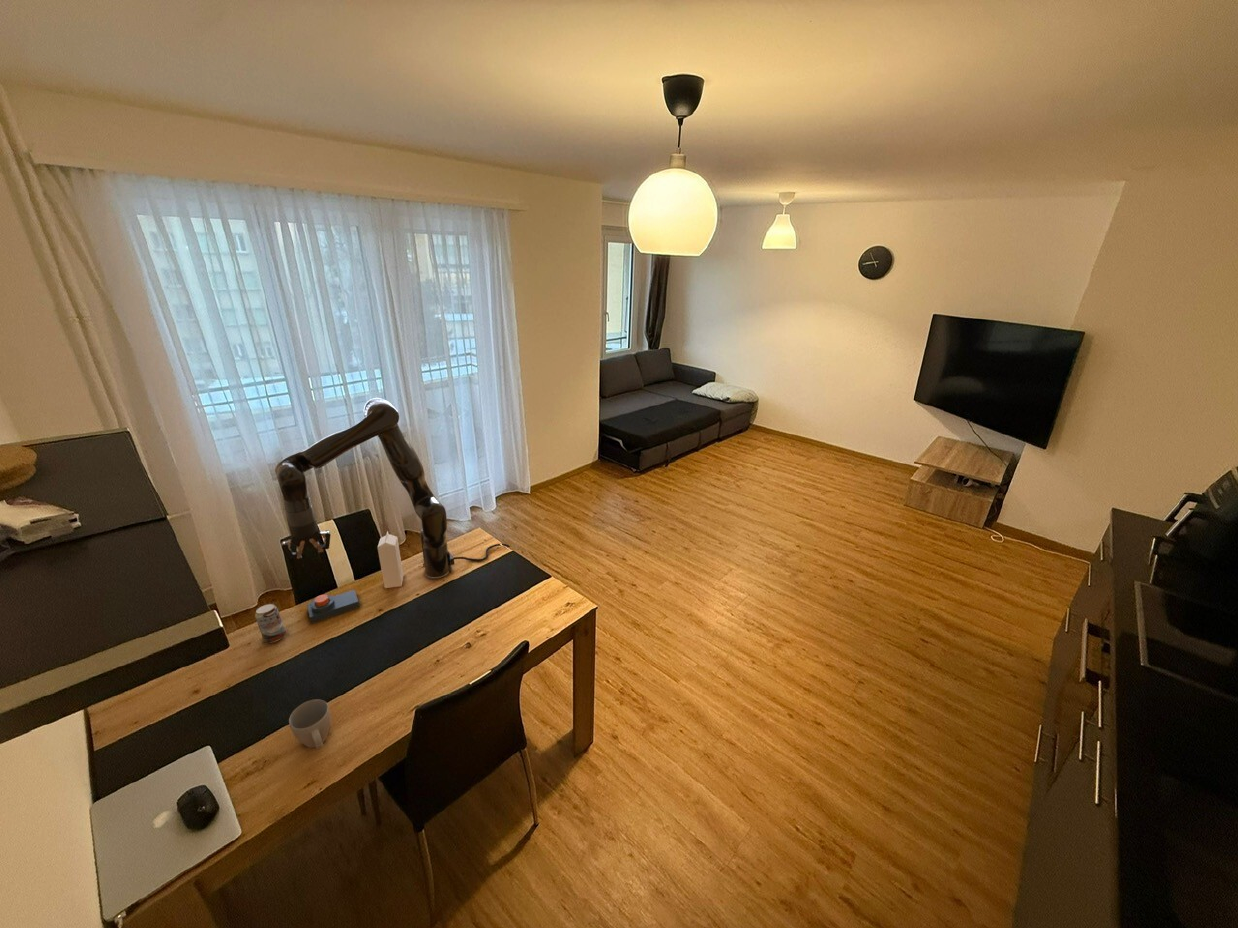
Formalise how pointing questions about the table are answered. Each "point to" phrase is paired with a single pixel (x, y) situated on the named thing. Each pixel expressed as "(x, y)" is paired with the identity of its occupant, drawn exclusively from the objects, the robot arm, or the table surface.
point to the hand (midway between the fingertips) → (312, 562)
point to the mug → (311, 723)
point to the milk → (390, 561)
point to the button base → (333, 606)
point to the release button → (321, 600)
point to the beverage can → (270, 623)
